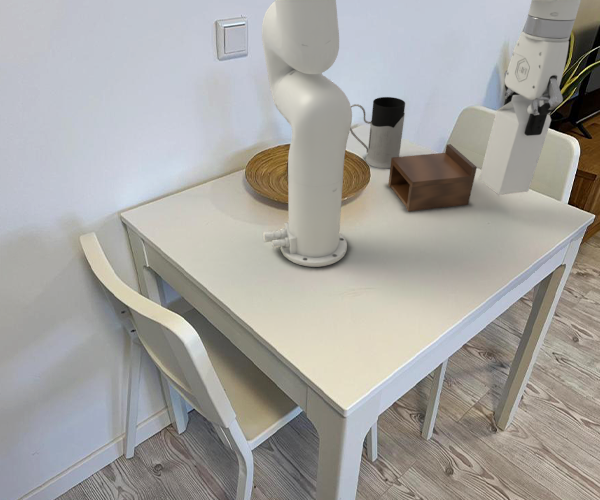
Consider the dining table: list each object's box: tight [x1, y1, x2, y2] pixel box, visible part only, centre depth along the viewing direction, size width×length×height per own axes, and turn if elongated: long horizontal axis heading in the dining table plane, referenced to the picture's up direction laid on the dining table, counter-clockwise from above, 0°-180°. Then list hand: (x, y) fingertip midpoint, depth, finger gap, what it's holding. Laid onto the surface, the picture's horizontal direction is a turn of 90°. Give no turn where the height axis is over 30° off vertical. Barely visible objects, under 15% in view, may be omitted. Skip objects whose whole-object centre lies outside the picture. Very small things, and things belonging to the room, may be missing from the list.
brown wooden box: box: [387, 143, 478, 212], centre depth 112 cm, size 14×12×9 cm
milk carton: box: [478, 95, 552, 196], centre depth 100 cm, size 7×7×19 cm
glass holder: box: [350, 96, 406, 169], centre depth 125 cm, size 9×14×15 cm, turn 77°
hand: (520, 125), depth 98 cm, fingers closed on milk carton, 7 cm apart
